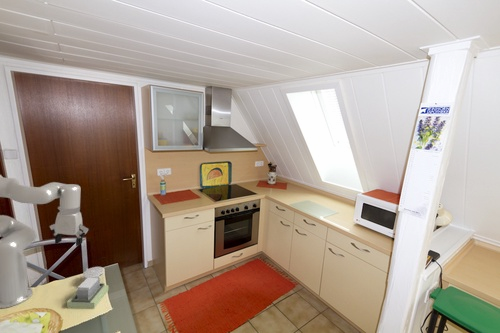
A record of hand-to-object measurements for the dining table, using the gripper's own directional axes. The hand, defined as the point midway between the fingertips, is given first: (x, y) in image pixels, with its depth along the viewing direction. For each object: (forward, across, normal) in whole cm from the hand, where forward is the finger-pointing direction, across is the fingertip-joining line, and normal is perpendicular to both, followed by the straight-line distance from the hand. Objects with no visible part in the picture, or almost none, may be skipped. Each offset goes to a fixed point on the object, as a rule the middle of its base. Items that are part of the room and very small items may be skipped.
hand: (68, 243), depth 109 cm
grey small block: (+23, +13, -3) cm, 26 cm away
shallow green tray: (+26, +13, -3) cm, 29 cm away
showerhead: (+26, +8, +8) cm, 29 cm away
